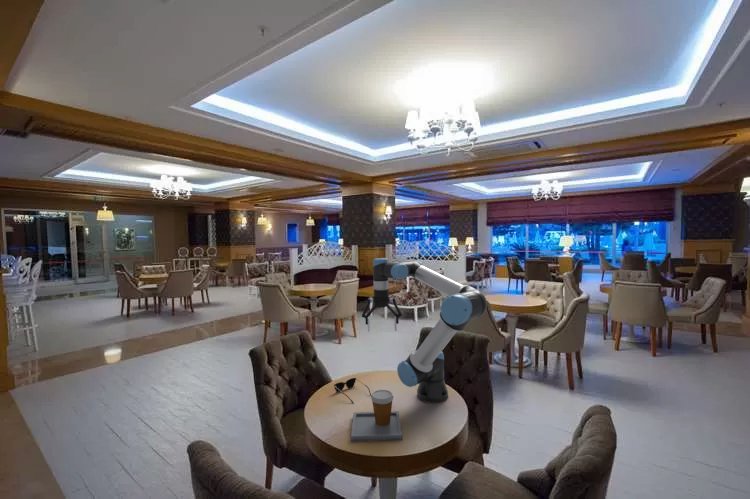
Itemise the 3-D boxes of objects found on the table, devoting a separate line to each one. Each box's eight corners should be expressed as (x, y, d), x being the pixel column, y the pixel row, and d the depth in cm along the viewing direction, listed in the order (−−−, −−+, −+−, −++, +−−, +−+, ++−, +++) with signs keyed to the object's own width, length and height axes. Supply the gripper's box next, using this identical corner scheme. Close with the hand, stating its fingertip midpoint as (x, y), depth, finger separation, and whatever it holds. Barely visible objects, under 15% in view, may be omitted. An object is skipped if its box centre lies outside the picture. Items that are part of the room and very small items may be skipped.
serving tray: (398, 415, 157) (398, 411, 157) (402, 439, 138) (402, 434, 138) (353, 416, 157) (353, 412, 156) (351, 441, 138) (351, 436, 138)
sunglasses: (355, 385, 189) (355, 376, 189) (373, 398, 177) (374, 388, 176) (333, 393, 181) (333, 384, 180) (350, 407, 168) (351, 397, 168)
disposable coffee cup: (392, 429, 144) (391, 400, 144) (369, 426, 146) (368, 398, 146) (395, 417, 154) (395, 390, 153) (374, 415, 156) (373, 388, 155)
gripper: (405, 287, 182) (406, 327, 183) (356, 288, 182) (357, 328, 183) (406, 289, 175) (407, 331, 176) (356, 290, 175) (357, 333, 176)
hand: (382, 330), depth 179 cm, fingers open, 13 cm apart
